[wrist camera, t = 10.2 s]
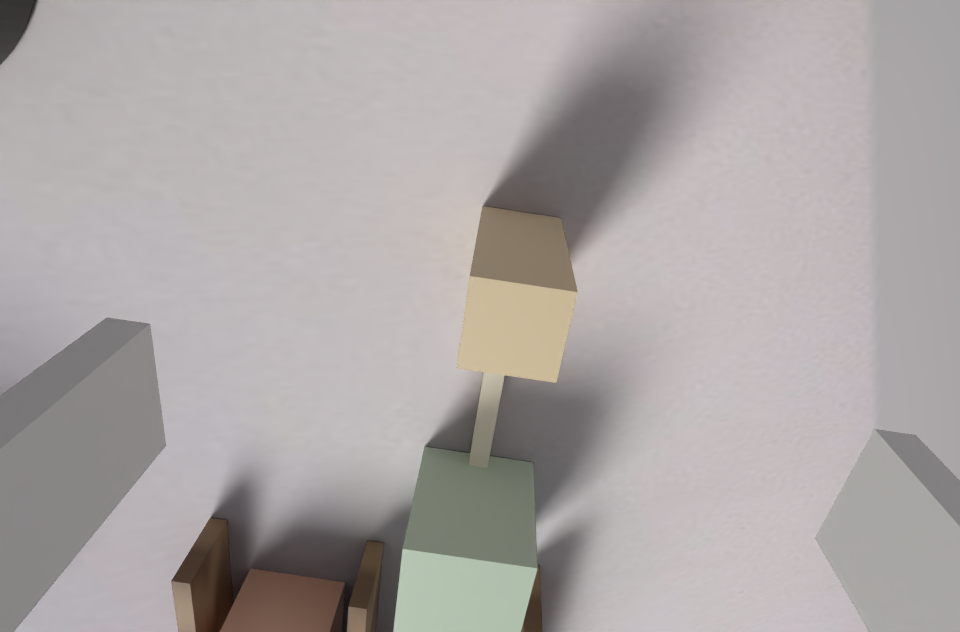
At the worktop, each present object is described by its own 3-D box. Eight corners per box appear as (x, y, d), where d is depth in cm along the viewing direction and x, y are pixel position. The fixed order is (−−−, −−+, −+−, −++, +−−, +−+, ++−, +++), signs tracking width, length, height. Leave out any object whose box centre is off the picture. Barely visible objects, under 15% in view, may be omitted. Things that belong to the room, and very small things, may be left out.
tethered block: (454, 201, 26) (431, 270, 19) (588, 222, 26) (615, 297, 19) (414, 526, 35) (388, 656, 28) (515, 540, 35) (515, 674, 28)
